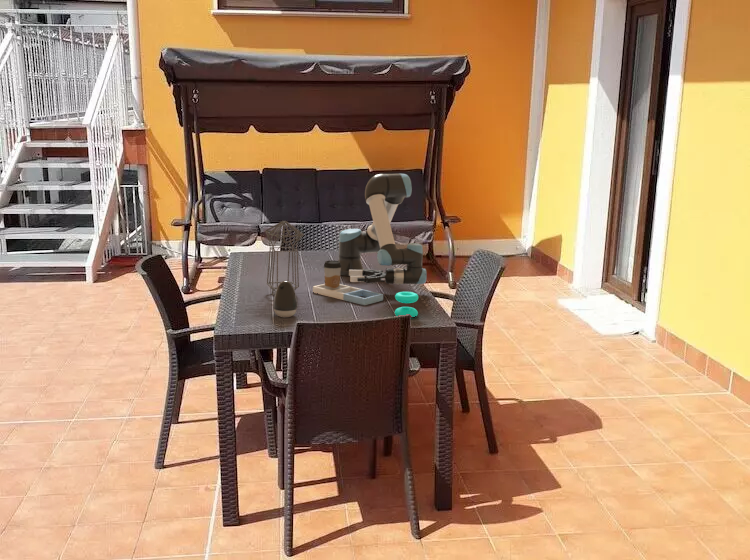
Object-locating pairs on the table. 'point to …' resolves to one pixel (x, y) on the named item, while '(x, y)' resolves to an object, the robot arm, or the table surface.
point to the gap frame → (350, 294)
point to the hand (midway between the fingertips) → (349, 275)
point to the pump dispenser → (285, 300)
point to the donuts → (406, 298)
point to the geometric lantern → (277, 226)
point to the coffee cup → (332, 274)
